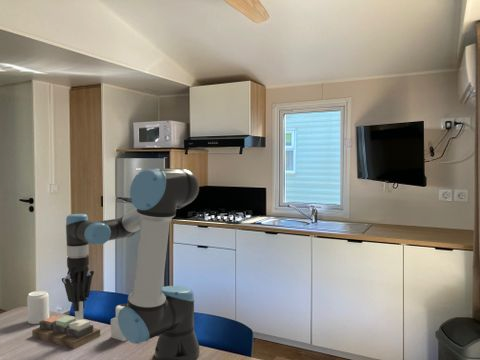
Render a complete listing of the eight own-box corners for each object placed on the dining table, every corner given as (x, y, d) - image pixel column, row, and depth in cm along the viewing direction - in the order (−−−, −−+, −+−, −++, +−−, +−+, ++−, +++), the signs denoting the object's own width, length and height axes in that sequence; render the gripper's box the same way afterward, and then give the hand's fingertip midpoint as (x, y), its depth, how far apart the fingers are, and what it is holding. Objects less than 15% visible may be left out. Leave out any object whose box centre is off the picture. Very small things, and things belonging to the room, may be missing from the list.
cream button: (89, 327, 151) (89, 321, 150) (79, 332, 146) (78, 326, 146) (80, 325, 153) (80, 319, 153) (69, 330, 148) (69, 323, 148)
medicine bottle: (124, 330, 158) (124, 300, 157) (138, 334, 154) (137, 303, 153) (110, 337, 152) (109, 306, 151) (124, 341, 148) (123, 309, 147)
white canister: (40, 325, 163) (39, 296, 163) (23, 324, 165) (22, 295, 165) (53, 318, 171) (52, 290, 171) (37, 317, 173) (36, 289, 172)
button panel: (100, 335, 153) (99, 323, 153) (74, 348, 142) (73, 335, 142) (59, 325, 164) (59, 313, 164) (32, 336, 153) (32, 323, 153)
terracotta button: (62, 324, 158) (62, 317, 157) (51, 328, 153) (51, 322, 153) (54, 321, 160) (54, 315, 160) (42, 326, 155) (42, 320, 155)
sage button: (76, 324, 154) (75, 317, 154) (64, 329, 150) (64, 322, 149) (67, 322, 156) (66, 315, 156) (55, 326, 152) (55, 320, 152)
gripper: (84, 251, 156) (86, 311, 157) (55, 258, 144) (57, 322, 145) (98, 253, 152) (100, 314, 153) (70, 260, 141) (71, 326, 142)
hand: (79, 318), depth 149 cm, fingers closed
